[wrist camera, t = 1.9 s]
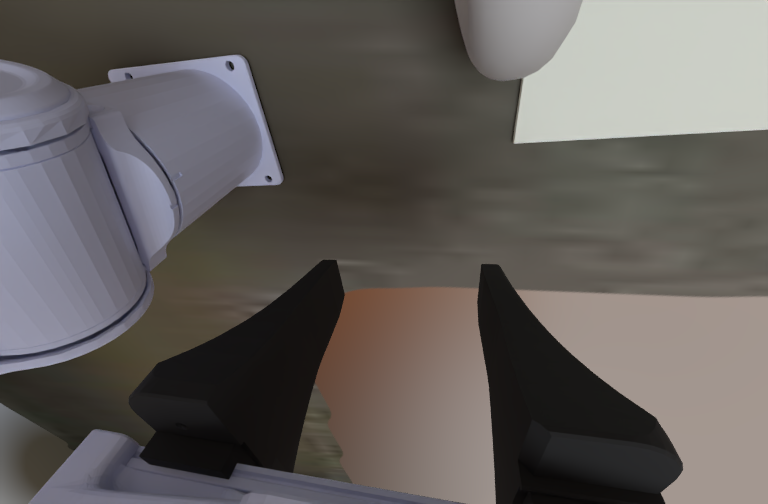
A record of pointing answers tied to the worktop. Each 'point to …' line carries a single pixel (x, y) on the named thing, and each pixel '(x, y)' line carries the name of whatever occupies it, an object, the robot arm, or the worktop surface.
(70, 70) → the worktop surface
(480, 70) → the donut
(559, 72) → the mat
